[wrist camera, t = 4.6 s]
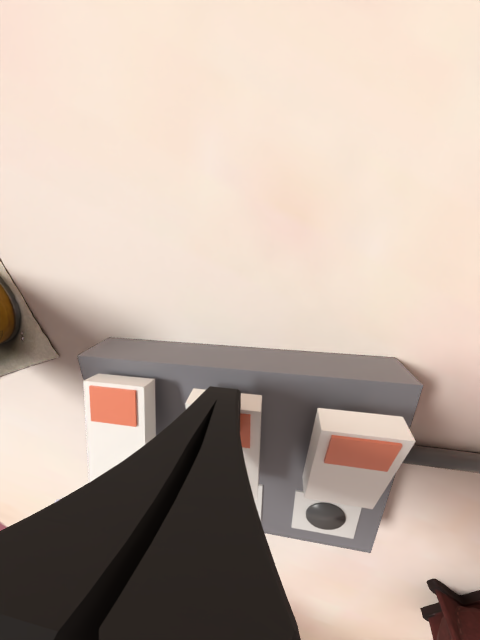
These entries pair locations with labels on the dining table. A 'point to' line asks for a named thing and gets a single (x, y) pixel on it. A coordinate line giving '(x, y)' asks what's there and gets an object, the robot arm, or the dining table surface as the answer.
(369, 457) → the rocker near camera
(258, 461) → the rocker middle
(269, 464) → the rocker switch panel
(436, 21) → the dining table surface
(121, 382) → the rocker near arm
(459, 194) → the dining table surface
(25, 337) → the condiment
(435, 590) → the mate gourd
